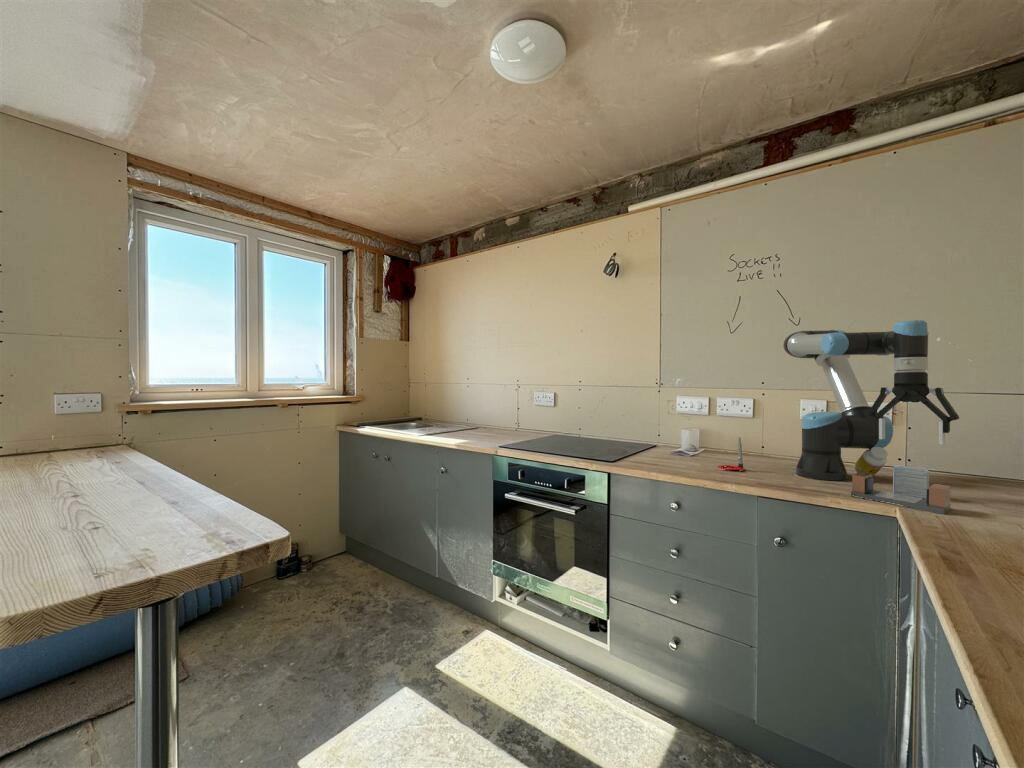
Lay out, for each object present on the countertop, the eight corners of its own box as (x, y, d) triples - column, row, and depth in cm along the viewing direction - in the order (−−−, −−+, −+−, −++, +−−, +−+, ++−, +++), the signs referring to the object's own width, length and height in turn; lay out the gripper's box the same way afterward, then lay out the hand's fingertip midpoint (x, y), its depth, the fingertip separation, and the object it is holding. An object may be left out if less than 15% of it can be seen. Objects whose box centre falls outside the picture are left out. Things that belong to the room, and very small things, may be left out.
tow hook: (716, 471, 165) (743, 472, 160) (714, 438, 165) (741, 438, 160) (717, 467, 172) (743, 468, 167) (716, 435, 172) (741, 436, 168)
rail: (850, 496, 128) (851, 475, 128) (860, 492, 133) (860, 471, 133) (943, 514, 112) (943, 490, 112) (950, 508, 116) (951, 485, 116)
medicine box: (928, 496, 128) (928, 468, 128) (928, 500, 125) (929, 470, 125) (893, 491, 133) (893, 464, 133) (892, 494, 130) (893, 467, 130)
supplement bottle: (863, 480, 153) (878, 463, 144) (848, 465, 158) (862, 447, 148) (880, 474, 153) (896, 456, 144) (865, 459, 158) (880, 441, 148)
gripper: (855, 372, 137) (855, 437, 137) (966, 370, 116) (966, 447, 116) (864, 372, 141) (864, 436, 141) (973, 370, 120) (973, 445, 120)
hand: (910, 441), depth 128 cm, fingers open, 13 cm apart
